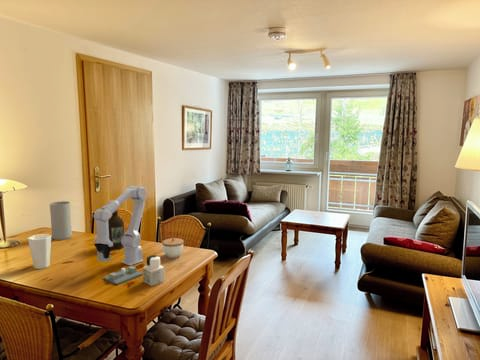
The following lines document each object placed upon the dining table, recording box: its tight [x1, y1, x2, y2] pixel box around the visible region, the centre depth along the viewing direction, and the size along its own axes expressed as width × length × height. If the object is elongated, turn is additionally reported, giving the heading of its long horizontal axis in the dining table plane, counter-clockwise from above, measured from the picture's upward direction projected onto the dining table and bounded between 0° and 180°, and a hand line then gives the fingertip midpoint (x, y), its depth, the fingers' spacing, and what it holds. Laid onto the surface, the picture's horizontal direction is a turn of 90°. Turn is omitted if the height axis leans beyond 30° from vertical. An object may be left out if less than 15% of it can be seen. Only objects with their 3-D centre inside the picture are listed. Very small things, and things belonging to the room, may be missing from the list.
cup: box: [27, 233, 52, 270], centre depth 188 cm, size 11×10×17 cm
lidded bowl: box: [161, 237, 185, 259], centre depth 207 cm, size 13×13×11 cm
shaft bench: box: [102, 265, 143, 286], centre depth 176 cm, size 15×12×4 cm
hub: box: [96, 250, 111, 263], centre depth 179 cm, size 5×5×5 cm
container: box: [142, 254, 166, 287], centre depth 170 cm, size 8×8×13 cm
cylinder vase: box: [49, 200, 73, 241], centre depth 241 cm, size 12×12×25 cm
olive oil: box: [108, 209, 125, 250], centre depth 220 cm, size 11×11×25 cm
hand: (104, 257), depth 180 cm, fingers closed on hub, 5 cm apart
